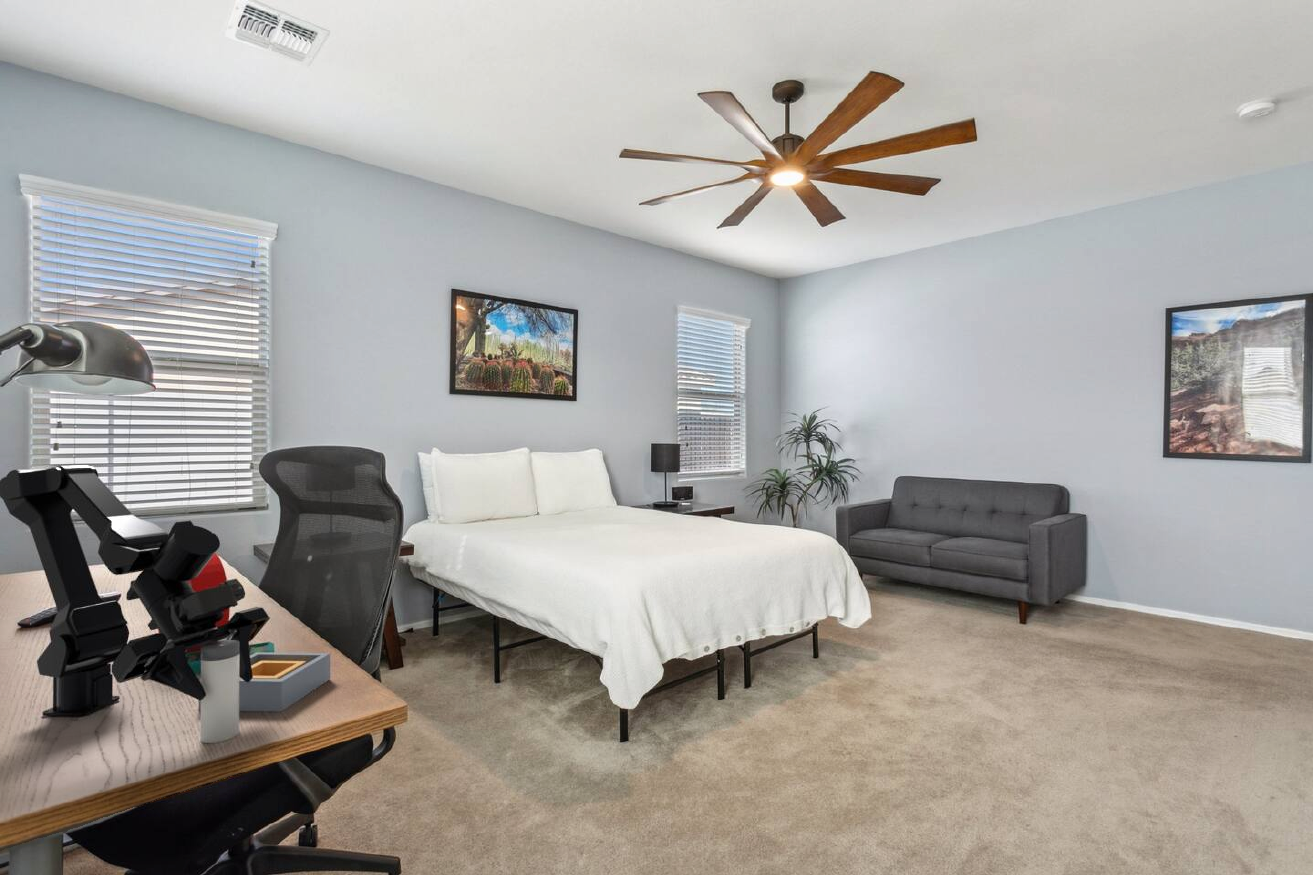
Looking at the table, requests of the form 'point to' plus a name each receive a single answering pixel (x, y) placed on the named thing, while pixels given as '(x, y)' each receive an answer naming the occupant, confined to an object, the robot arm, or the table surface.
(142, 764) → the table surface
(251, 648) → the digital multimeter
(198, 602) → the robot arm
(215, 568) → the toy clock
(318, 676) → the box
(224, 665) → the grey capped shaker bottle
